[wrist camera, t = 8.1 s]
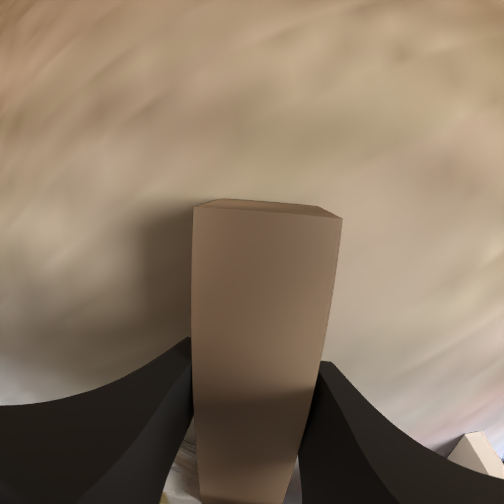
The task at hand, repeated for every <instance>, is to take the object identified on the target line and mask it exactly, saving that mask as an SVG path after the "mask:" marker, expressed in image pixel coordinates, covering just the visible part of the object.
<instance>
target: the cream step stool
mask: <svg viewBox="0 0 504 504" xmlns="http://www.w3.org/2000/svg"><path fill="white" fill-rule="evenodd" d="M446 459H448V460H450V461H452V462H454V463H456V464H459V465H461V466H464V467H466V468H469V469H471V470H474V471H476V472H480V473H483V474H487V475H490V476H494V477H497V478H501V479H504V464H503V463H502V461H501V460H500V458H499V456H498V455H497V453H496V452H495V450H494V449H493V447H492V446H491V444H490V443H489V441H488V440H487V438H486V437H485V435H484V434H483V432H482V431H479V432H473V433H467V434H464V436H463V437H462V438H461V440H460V441H459V443H458V444H457V445H456V447H455V448H454V449H453V451H452V452H451V453H450V455H449V456H448V457H447V458H446Z"/></svg>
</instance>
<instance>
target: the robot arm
mask: <svg viewBox="0 0 504 504" xmlns="http://www.w3.org/2000/svg"><path fill="white" fill-rule="evenodd" d="M193 416H194V404H193V380H192V342H191V338H190V337H186V338H185V339H183V340H182V341H180V342H179V343H178V344H176V345H175V346H173V347H172V348H171V349H169V350H168V351H166V352H165V353H163V354H162V355H160V356H159V357H157V358H156V359H154V360H153V361H151V362H150V363H148V364H146V365H145V366H143V367H141V368H139V369H138V370H136V371H134V372H132V373H130V374H128V375H127V376H125V377H123V378H121V379H119V380H117V381H114V382H112V383H110V384H107V385H105V386H102V387H99V388H97V389H94V390H91V391H88V392H84V393H81V394H77V395H74V396H70V397H66V398H63V399H58V400H53V401H47V402H42V403H34V404H25V405H6V406H0V504H159V503H160V500H161V496H162V493H163V490H164V486H165V483H166V480H167V477H168V474H169V472H170V469H171V467H172V464H173V462H174V460H175V457H176V455H177V453H178V451H179V448H180V446H181V444H182V441H183V439H184V437H185V435H186V432H187V430H188V428H189V425H190V423H191V421H192V418H193ZM298 460H299V469H300V478H301V487H302V504H504V479H501V478H497V477H494V476H490V475H487V474H483V473H480V472H476V471H474V470H471V469H469V468H466V467H464V466H461V465H459V464H456V463H454V462H452V461H450V460H448V459H446V458H444V457H442V456H440V455H438V454H436V453H435V452H433V451H431V450H429V449H428V448H426V447H424V446H423V445H421V444H420V443H418V442H416V441H415V440H413V439H412V438H411V437H409V436H408V435H407V434H405V433H404V432H403V431H401V430H400V429H399V428H397V427H396V426H395V425H394V424H392V423H391V422H390V421H389V420H388V419H386V418H385V417H384V416H383V415H382V414H381V413H380V412H379V411H378V410H377V409H375V408H374V407H373V406H372V405H371V404H370V403H369V402H368V401H367V400H366V399H365V398H364V397H363V396H362V394H361V393H360V392H359V391H358V390H357V389H356V388H355V387H354V386H353V385H352V384H351V383H350V382H349V380H348V379H347V378H346V377H345V376H344V375H343V374H342V373H341V372H340V371H339V369H338V368H337V367H336V366H335V365H334V364H333V363H332V362H327V361H320V365H319V370H318V375H317V379H316V384H315V388H314V393H313V397H312V401H311V405H310V410H309V414H308V418H307V422H306V425H305V429H304V433H303V437H302V441H301V444H300V448H299V451H298Z"/></svg>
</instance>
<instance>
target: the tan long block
mask: <svg viewBox="0 0 504 504" xmlns="http://www.w3.org/2000/svg"><path fill="white" fill-rule="evenodd" d="M341 228H342V218H340V217H338V216H336V215H334V214H332V213H330V212H328V211H326V210H324V209H322V208H320V207H318V206H311V205H300V204H289V203H278V202H265V201H252V200H238V199H219V200H215V201H212V202H208V203H205V204H201V205H198V206H194V209H193V234H192V272H191V342H192V380H193V404H194V422H195V438H196V452H197V464H198V476H199V486H200V496H201V504H282V503H283V500H284V497H285V494H286V491H287V488H288V485H289V482H290V479H291V475H292V472H293V469H294V465H295V462H296V458H297V455H298V451H299V448H300V444H301V441H302V437H303V433H304V429H305V425H306V422H307V418H308V414H309V410H310V405H311V401H312V397H313V393H314V388H315V384H316V379H317V375H318V370H319V365H320V361H321V356H322V351H323V346H324V340H325V335H326V330H327V324H328V319H329V313H330V307H331V301H332V295H333V288H334V282H335V275H336V268H337V261H338V253H339V245H340V237H341Z"/></svg>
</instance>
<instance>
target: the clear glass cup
mask: <svg viewBox="0 0 504 504" xmlns="http://www.w3.org/2000/svg"><path fill="white" fill-rule="evenodd" d="M159 504H201V496H200V486H199V476H198V464H197V452H196V447H195V446H194V445H192V444H190V443H188V442H186V441H182V444H181V446H180V448H179V451H178V453H177V455H176V457H175V460H174V462H173V464H172V467H171V469H170V472H169V474H168V477H167V480H166V483H165V486H164V490H163V493H162V496H161V500H160V503H159Z"/></svg>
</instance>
